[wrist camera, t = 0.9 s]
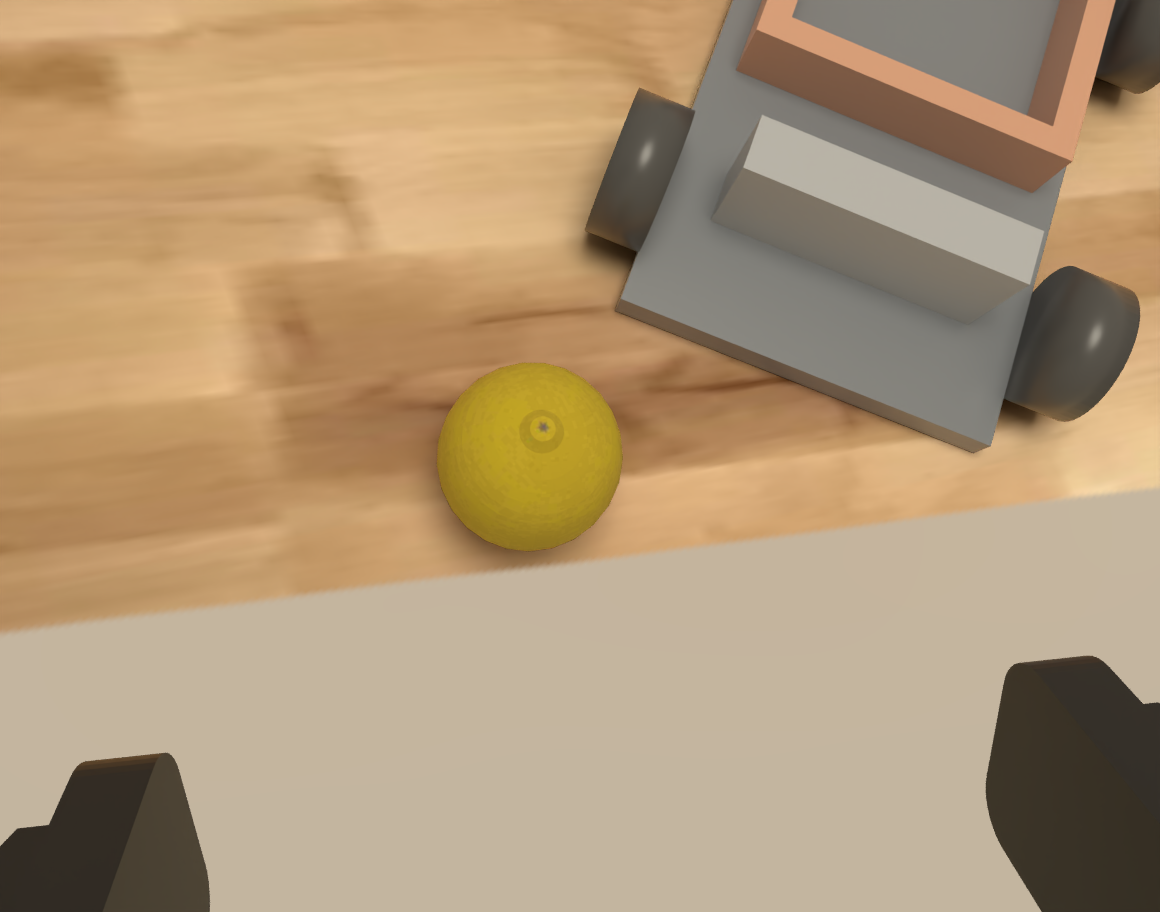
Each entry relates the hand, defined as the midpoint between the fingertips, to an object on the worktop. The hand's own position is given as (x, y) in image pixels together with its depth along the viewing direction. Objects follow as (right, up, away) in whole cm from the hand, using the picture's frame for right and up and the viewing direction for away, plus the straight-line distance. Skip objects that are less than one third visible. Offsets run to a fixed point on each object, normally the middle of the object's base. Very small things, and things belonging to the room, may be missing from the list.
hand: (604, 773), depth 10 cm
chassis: (+11, +16, +30) cm, 35 cm away
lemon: (-2, +2, +25) cm, 25 cm away
